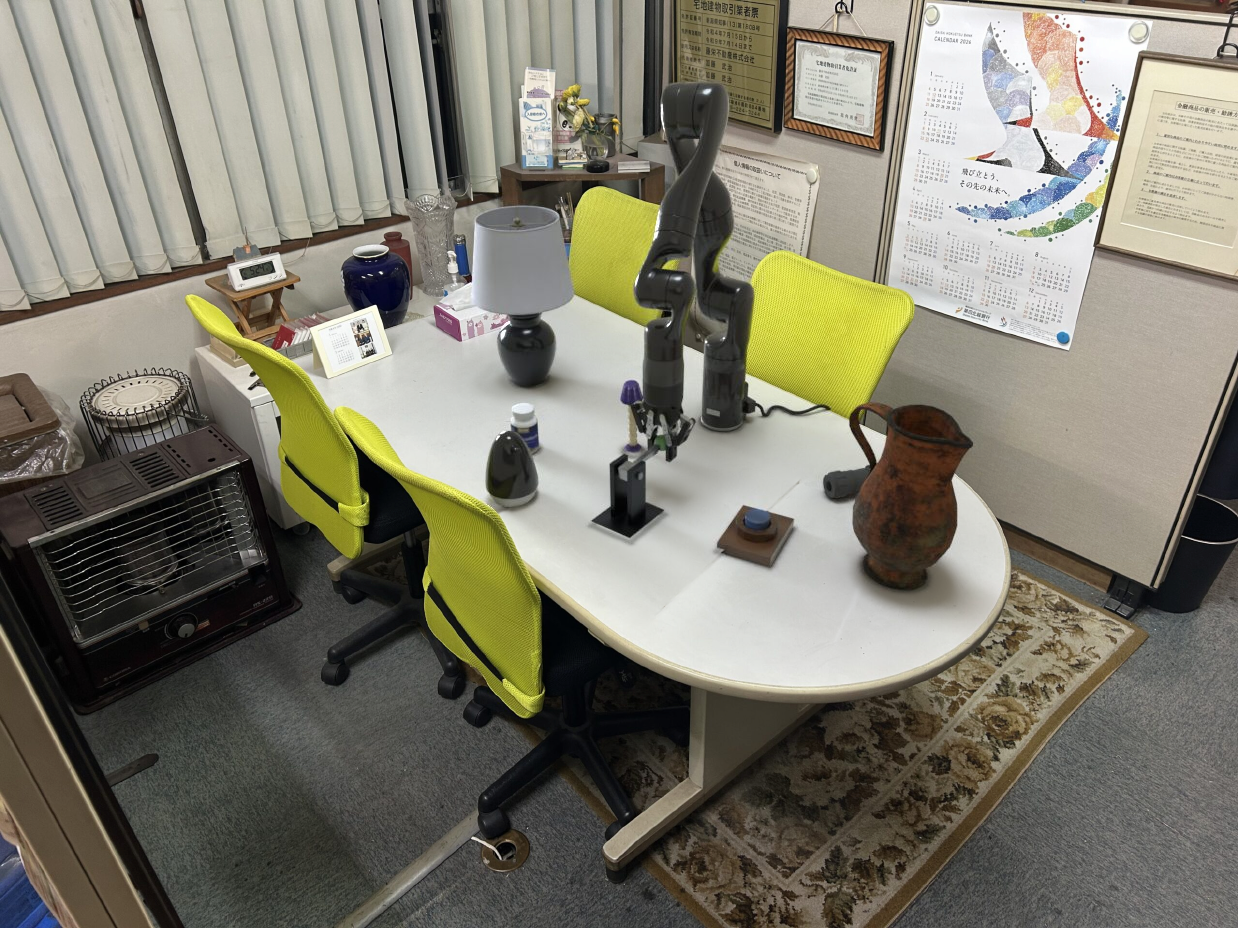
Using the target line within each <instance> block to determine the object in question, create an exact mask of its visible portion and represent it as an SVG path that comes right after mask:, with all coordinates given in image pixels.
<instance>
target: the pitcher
mask: <svg viewBox="0 0 1238 928" xmlns="http://www.w3.org/2000/svg"><path fill="white" fill-rule="evenodd" d="M862 410H864V411H868V412H870V413H874V414H876V415H877V416H879V418H881V419H882V420H884V421H885V422H886V427H885V430H886V431H885V436H886V437H885V443H884V447H883V449H882V453H881V456H880V458H879V460H878V461H877V458H876V454H875V452H874V450H873V448H872V446H871V444H870V442H869V440H868V439H867V437H866V436H865V434H864V431H863V429H862V427H861V424H860V417H859V416H860V413H861V411H862ZM848 426H849V430H850V432H851V433H852V436H853V437H854V439H855V441H856V442H857V444H858V446H859V448H860V449H861V450H862V452H863V454H864V456H865V457H866V460H867V462H868V465H870V473H869V475H868V476H867V478H866V480H865V482H864V483H863V484H862V487H861V489H860V491H858V492H857V495H856V497H855V500H854V503H853V506H852V518H851V519H852V523H851V524H852V528H853V533H854V535H855V537H856V539H857V541H858V542H859V545H860V546H861V547H862V548H863V549H864V551H865V552H866V554H865V555H864V556H863V560H862V563H861V564H862V567H863V570H864V572H865V573H866V574H867V576H868V577H869V578H871V579H872V580H873V581H875V582H876V583H879V584H881V585H882V586H885V587H888V588H892V589H894V590H895V589H896V590H901V591H911V590H916V589H919V588H921V587H922V586H923V585H925V584H926V583H927V580H928V571H927V569H928V568H931V567H932V566H934V565H935V564H937V563H938V561H939V560H941V558H942V557H943V556H944V555H945V554H946V553H947V552H948V550H949V549H950V548H951V546H952V543H953V540H954V538H955V535H956V532H957V528H958V501H957V496H956V492H955V489H954V484H953V479H954V476H955V473H956V471H957V469H958V468H959V465H960V463H962V460H963V458H964V457H965V455H966V454H967V452H969V449H972V448H973V446H974V442H973V440H971V437H969V436H968V435H966V434H965V433H964V432H963V430H962V429H961V426H960V425H959V423H958V422H957V421H956V420H955V418H954V417H953V416H952V415H951V414H950V413H948V412H947V411H945V410H944V409H941V408H938V407H936V406H932V405H927V404H922V403H921V404H905V405H901V406H898V407H896V408H893V407H891V406H889V405H887V404H885V403H881V402H866V403H862V404H859V405H857V406H856V407H854V409H853V410H852V411H851V413H850V414H849V417H848Z"/></svg>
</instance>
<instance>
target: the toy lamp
mask: <svg viewBox="0 0 1238 928" xmlns="http://www.w3.org/2000/svg"><path fill="white" fill-rule="evenodd" d="M638 400H642V401H643V392H642V389H641V386H640V384H639V382H638V380H633V379H629V380H626V381H625V382H624V383H623V385H622V389H621V393H620V399H619V401H620V403H622V404H623V405H624V406H625V405H626V406H627V407H628V408H627V412H628V415H627V418H628V421H627V423H628V438H629V439H628V443H627V444H625V445H624V450H625V451H626V452H628V453H638V452H641V451H642V449H643V446H642V445H641V444H640V443H638V433H637V432H638V428H637V425H636V422H635V419H634V416H633V413H632V410H631V407H630V406H631V405H632V404H633V403H634V402H636V401H638Z"/></svg>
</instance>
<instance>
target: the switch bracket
mask: <svg viewBox="0 0 1238 928" xmlns="http://www.w3.org/2000/svg"><path fill="white" fill-rule="evenodd" d="M627 460H628V461H629V455H628V454H626V453H622V454H621V455H620V456H618V457H617V458H616V459H614V460H612V461H611V462H610V463H609V497H610V498H609V500H610V501H609V502H610V503H609V504H610V506H609V507H607V508H605V510H603V511H602V512H601V513H599V514H598V515H596V516H595V517H594V518H592V520H591V522H592V523H594V524H597V525H599V526H601V527H603V528H605V529H608V530H611V531H612V532H615V533H616V534H619V535H622V536H624V537H626V538H628V539H631V538H632V537H633V536H635V535H636V534H637V533H638V532H640V531H641V530H642V529H643V528H644V527H646V526H647V525H649V523H651V522H652V521H654V519H656V518H657V517H658V516H659V515H661V514H662V513H663V512H664V511H665V509H664V508H661V507H660V506H657V505H654V504H652V503H649V502H647V501H646V500H647V499H646V497H647V492H646V491H647V487H646V486H647V475H646V474H647V466H646V465H647V461H646V462H645V461H642V460H641V461H640V462H639V463H637V464H636V465H634V466H633V467H632V468H630V469H629V470H627V481H625V480H622V479H620V478H619V473H618V467H620V466H621V465H622V464H623V463H625V462H626V461H627Z"/></svg>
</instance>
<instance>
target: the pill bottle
mask: <svg viewBox="0 0 1238 928" xmlns="http://www.w3.org/2000/svg"><path fill="white" fill-rule="evenodd" d="M511 415H512V417H510V431H514V432H516V433H518V434H519V435H520V436H521V437H522V438H523V440H524V441H525V443H526V444H527V446H528V448H529V450H530V452H531V455H532V454H534V453H536V452H537V451H538V450H539V448H540V437H539V421H538V417H537V415H536V414H535V407H534V405H533V404H531V403H528V402H520V403H517V404H514V405H513V406H512V407H511Z"/></svg>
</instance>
